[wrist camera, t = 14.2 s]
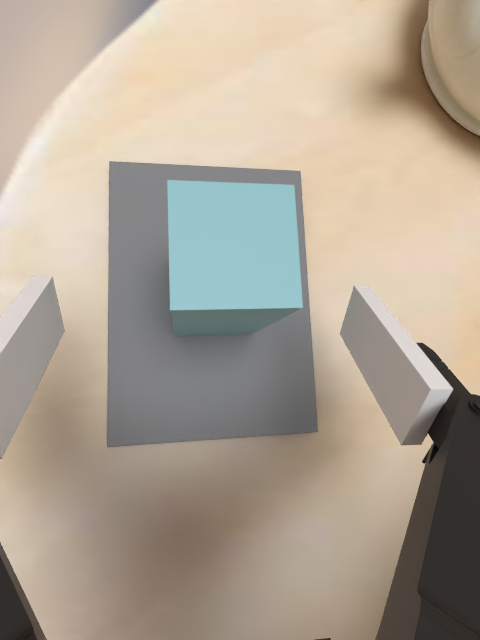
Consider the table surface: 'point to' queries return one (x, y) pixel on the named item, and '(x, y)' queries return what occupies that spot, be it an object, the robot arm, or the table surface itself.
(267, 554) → the table surface
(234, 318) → the block
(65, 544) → the table surface
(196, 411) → the mat
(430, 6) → the kettle
